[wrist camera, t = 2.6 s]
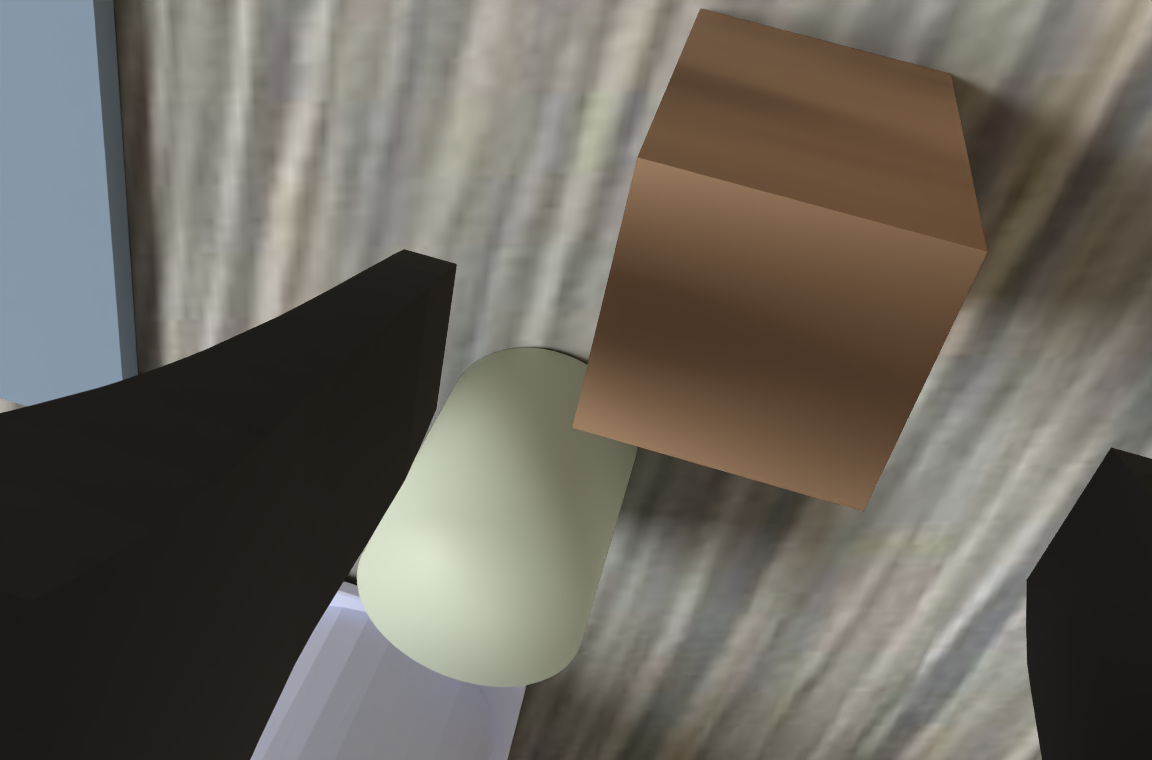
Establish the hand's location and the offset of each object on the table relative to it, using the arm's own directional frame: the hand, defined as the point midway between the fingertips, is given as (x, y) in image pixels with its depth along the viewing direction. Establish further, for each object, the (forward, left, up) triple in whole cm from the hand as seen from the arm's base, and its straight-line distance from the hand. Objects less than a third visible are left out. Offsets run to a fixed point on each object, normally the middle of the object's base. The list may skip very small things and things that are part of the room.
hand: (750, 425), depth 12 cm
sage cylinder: (-7, +3, -8) cm, 11 cm away
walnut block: (0, 0, -8) cm, 8 cm away
